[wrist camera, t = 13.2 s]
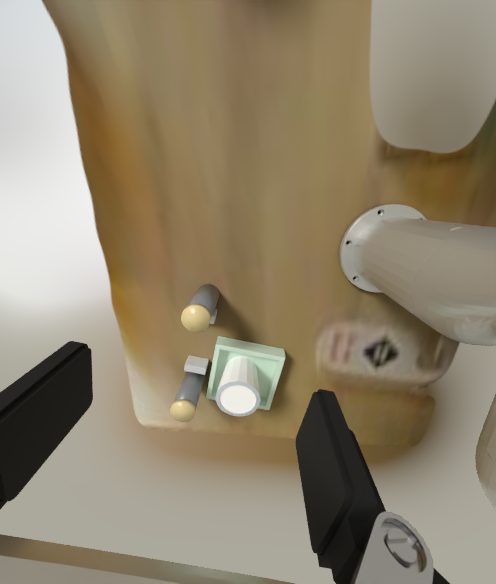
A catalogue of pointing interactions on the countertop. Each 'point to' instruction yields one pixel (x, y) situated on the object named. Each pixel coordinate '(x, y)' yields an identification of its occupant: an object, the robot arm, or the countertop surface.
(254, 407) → the white cup
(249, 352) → the tray
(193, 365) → the grey upright cylinders
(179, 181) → the countertop surface
